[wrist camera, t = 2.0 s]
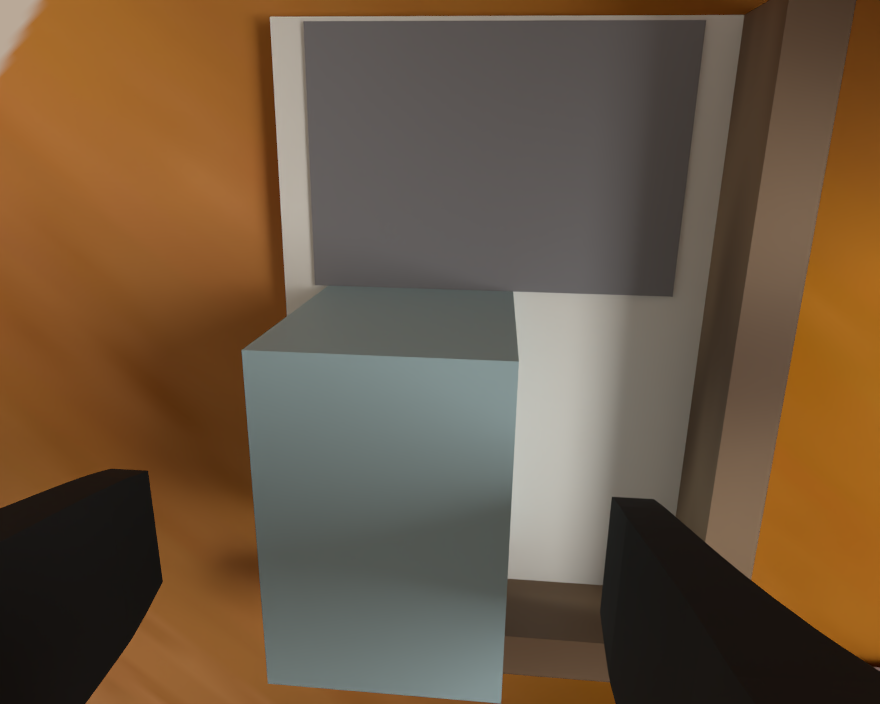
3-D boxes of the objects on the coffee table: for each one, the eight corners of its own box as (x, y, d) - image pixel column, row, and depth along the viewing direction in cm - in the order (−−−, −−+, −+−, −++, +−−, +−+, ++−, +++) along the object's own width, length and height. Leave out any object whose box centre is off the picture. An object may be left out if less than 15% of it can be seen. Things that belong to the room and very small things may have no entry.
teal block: (500, 535, 16) (501, 703, 11) (338, 524, 16) (268, 683, 11) (512, 290, 14) (518, 361, 9) (329, 284, 14) (241, 349, 9)
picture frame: (696, 613, 16) (730, 692, 14) (308, 585, 17) (276, 654, 15) (789, 19, 12) (858, -13, 10) (277, 21, 13) (228, -8, 11)
